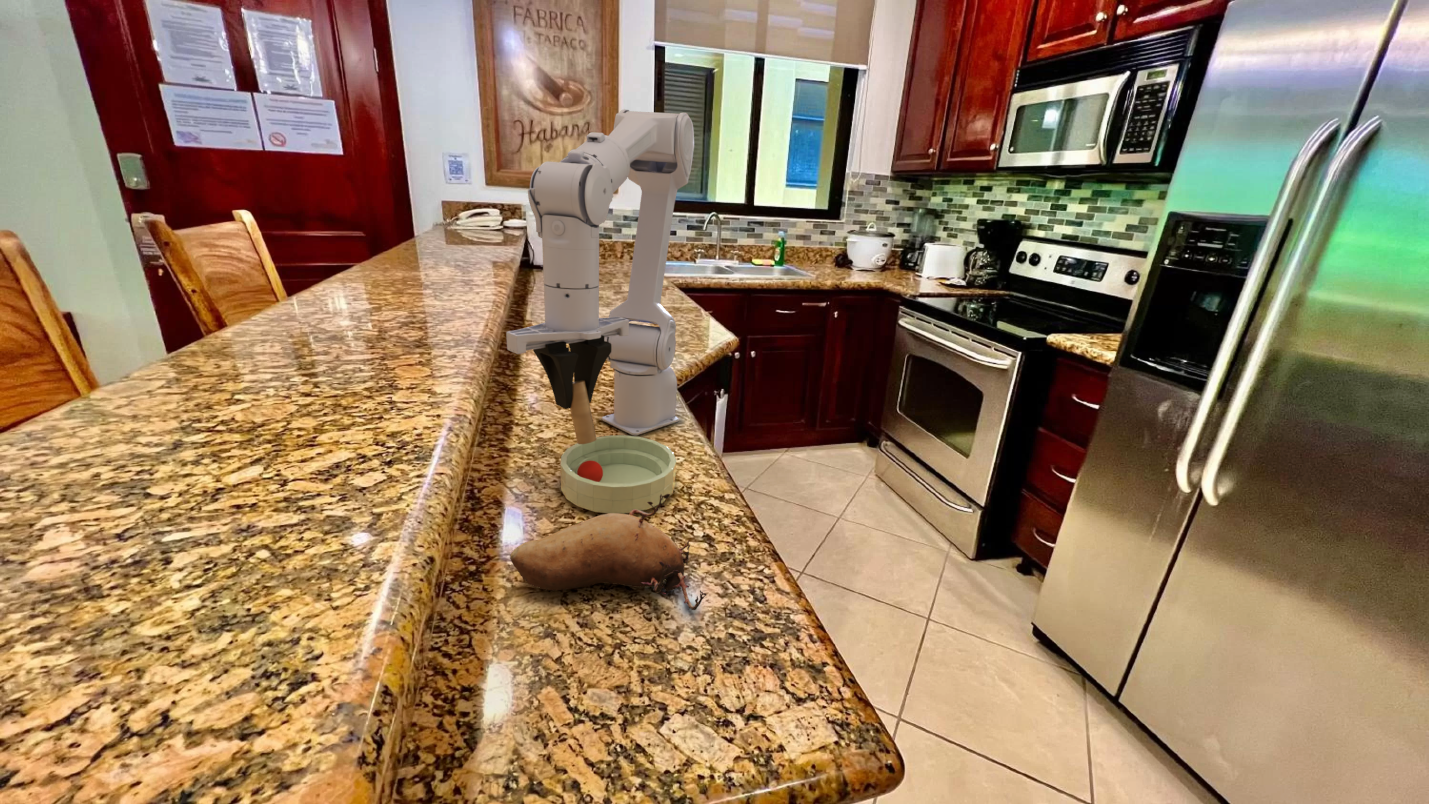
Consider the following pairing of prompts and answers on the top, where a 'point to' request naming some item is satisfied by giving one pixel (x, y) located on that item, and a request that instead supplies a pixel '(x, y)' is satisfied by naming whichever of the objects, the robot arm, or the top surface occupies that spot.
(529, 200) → the robot arm
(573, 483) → the bowl
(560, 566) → the vegetable
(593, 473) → the ball
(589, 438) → the stick
